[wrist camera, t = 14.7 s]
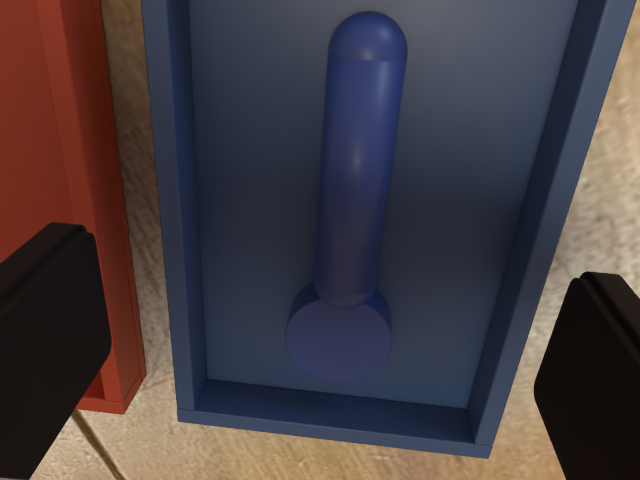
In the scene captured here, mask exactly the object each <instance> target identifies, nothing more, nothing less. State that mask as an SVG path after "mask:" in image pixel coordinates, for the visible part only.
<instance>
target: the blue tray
mask: <svg viewBox="0 0 640 480" xmlns="http://www.w3.org/2000/svg"><path fill="white" fill-rule="evenodd" d="M635 3H636V0H141V10H142V21H143V32H144V43H145V54H146V65H147V77H148V88H149V99H150V110H151V121H152V132H153V144H154V155H155V166H156V177H157V188H158V199H159V211H160V222H161V233H162V244H163V255H164V266H165V277H166V289H167V300H168V311H169V322H170V333H171V344H172V356H173V367H174V378H175V389H176V400H177V415H178V421H179V422H185V423H194V424H202V425H210V426H219V427H227V428H235V429H244V430H252V431H260V432H269V433H277V434H285V435H294V436H302V437H310V438H318V439H327V440H335V441H343V442H352V443H360V444H368V445H377V446H385V447H393V448H402V449H410V450H418V451H427V452H435V453H443V454H451V455H460V456H468V457H476V458H485V459H488V458H489V456H490V453H491V450H492V445H493V443H494V440H495V437H496V434H497V430H498V427H499V424H500V421H501V418H502V415H503V412H504V409H505V406H506V403H507V399H508V396H509V393H510V390H511V387H512V384H513V381H514V378H515V375H516V372H517V369H518V365H519V362H520V359H521V356H522V353H523V350H524V347H525V344H526V341H527V338H528V334H529V331H530V328H531V325H532V322H533V319H534V316H535V313H536V310H537V307H538V304H539V300H540V297H541V294H542V291H543V288H544V285H545V282H546V279H547V276H548V273H549V269H550V266H551V263H552V260H553V257H554V254H555V251H556V248H557V245H558V242H559V239H560V235H561V232H562V229H563V226H564V223H565V220H566V217H567V214H568V211H569V208H570V204H571V201H572V198H573V195H574V192H575V189H576V186H577V183H578V180H579V177H580V174H581V170H582V167H583V164H584V161H585V158H586V155H587V152H588V149H589V146H590V143H591V139H592V136H593V133H594V130H595V127H596V124H597V121H598V118H599V115H600V112H601V108H602V105H603V102H604V99H605V96H606V93H607V90H608V87H609V84H610V81H611V78H612V74H613V71H614V68H615V65H616V62H617V59H618V56H619V53H620V50H621V47H622V43H623V40H624V37H625V34H626V31H627V28H628V25H629V22H630V19H631V16H632V13H633V9H634V6H635ZM363 11H374V12H380V13H382V14H385V15H387V16H388V17H390V18H391V19H393V20H394V21H395V22H396V23H397V24H398V25H399V26H400V28H401V30H402V31H403V33H404V36H405V39H406V42H407V48H408V53H407V64H406V71H405V78H404V85H403V93H402V100H401V107H400V114H399V122H398V129H397V136H396V143H395V151H394V158H393V165H392V172H391V180H390V187H389V194H388V201H387V209H386V216H385V223H384V230H383V238H382V245H381V252H380V259H379V267H378V274H377V281H376V286H375V289H376V290H377V291H378V292H379V293H380V294H381V295H382V296H383V298H384V299H385V301H386V302H387V304H388V307H389V309H390V313H391V325H392V349H391V353H390V355H389V358H388V359H387V361H386V363H385V364H384V365H383V366H382V367H381V368H380V369H379V370H378V371H377V372H376V373H374V374H373V375H371V376H369V377H367V378H365V379H362V380H359V381H355V382H348V383H335V382H328V381H324V380H320V379H318V378H315V377H313V376H311V375H309V374H308V373H306V372H304V371H303V370H302V369H301V368H299V367H298V366H297V365H296V364H295V362H294V361H293V360H292V358H291V357H290V355H289V353H288V351H287V348H286V344H285V330H286V326H287V322H288V318H289V314H290V309H291V306H292V303H293V301H294V299H295V297H296V296H297V294H298V293H299V292H300V291H301V290H302V289H303V288H304V287H306V286H307V285H309V284H310V283H312V282H313V266H314V252H315V237H316V222H317V208H318V193H319V179H320V164H321V150H322V135H323V120H324V106H325V91H326V77H327V62H328V50H329V43H330V40H331V38H332V35H333V33H334V32H335V30H336V28H337V27H338V26H339V25H340V24H341V23H342V22H343V21H344V20H345V19H347V18H348V17H349V16H352V15H354V14H356V13H359V12H363Z"/></svg>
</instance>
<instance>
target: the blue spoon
mask: <svg viewBox="0 0 640 480" xmlns="http://www.w3.org/2000/svg"><path fill="white" fill-rule="evenodd" d="M407 53H408V48H407V42H406V39H405V36H404V33H403V31H402V30H401V28H400V26H399V25H398V24H397V23H396V22H395V21H394V20H393V19H391V18H390V17H388V16H387V15H385V14H382V13H380V12H374V11H363V12H359V13H356V14H354V15H352V16H349V17H348V18H347V19H345V20H344V21H343V22H342V23H341V24H340V25H339V26H338V27H337V28H336V30H335V32H334V33H333V35H332V38H331V40H330V43H329V50H328V62H327V77H326V91H325V106H324V120H323V135H322V150H321V164H320V179H319V193H318V208H317V222H316V237H315V252H314V266H313V282H312V283H310V284H309V285H307V286H306V287H304V288H303V289H302V290H301V291H300V292H299V293H298V294H297V296H296V297H295V299H294V301H293V303H292V306H291V309H290V314H289V318H288V322H287V326H286V330H285V344H286V348H287V351H288V353H289V355H290V357H291V358H292V360H293V361H294V362H295V364H296V365H297V366H298V367H299V368H301V369H302V370H303V371H304V372H306V373H308V374H309V375H311V376H313V377H315V378H318V379H320V380H324V381H328V382H335V383H348V382H355V381H359V380H362V379H365V378H367V377H369V376H371V375H373V374H374V373H376V372H377V371H378V370H379V369H380V368H381V367H382V366H383V365H384V364H385V363H386V361H387V359H388V358H389V355H390V353H391V349H392V325H391V313H390V309H389V307H388V304H387V302H386V301H385V299H384V298H383V296H382V295H381V294H380V293H379V292H378V291H377V290H376V289H375V286H376V281H377V274H378V267H379V259H380V252H381V245H382V238H383V230H384V223H385V216H386V209H387V201H388V194H389V187H390V180H391V172H392V165H393V158H394V151H395V143H396V136H397V129H398V122H399V114H400V107H401V100H402V93H403V85H404V78H405V71H406V64H407Z"/></svg>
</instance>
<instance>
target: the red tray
mask: <svg viewBox="0 0 640 480" xmlns="http://www.w3.org/2000/svg"><path fill="white" fill-rule="evenodd" d="M51 222H59V223H70V224H81V225H83V226H84V227H85V228H86V230H87V232H89V233H92V234H93V235H94V237H95V240H96V245H97V251H98V257H99V263H100V269H101V276H102V282H103V288H104V294H105V300H106V306H107V312H108V318H109V324H110V331H111V337H112V347H111V351H110V354H109V356H108V358H107V360H106V361H105V363H104V364H103V366H102V368H101V369H100V371H99V372H98V374H97V375H96V377H95V378H94V380H93V382H92V383H91V385H90V386H89V388H88V389H87V391H86V392H85V394H84V395H83V397H82V399H81V400H80V402H79V403H78V405H77V406H76V408H75V409H80V410H88V411H97V412H105V413H113V414H122V415H123V414H125V412H126V410H127V409H128V407H129V405H130V403H131V401H132V400H133V398H134V396H135V394H136V393H137V391H138V389H139V387H140V385H141V383H142V382H143V381H144V379H145V377H146V371H145V363H144V355H143V347H142V339H141V331H140V323H139V315H138V307H137V299H136V290H135V282H134V274H133V266H132V258H131V250H130V242H129V234H128V226H127V218H126V210H125V202H124V193H123V185H122V177H121V169H120V161H119V153H118V145H117V137H116V129H115V121H114V113H113V105H112V97H111V88H110V80H109V72H108V64H107V56H106V48H105V40H104V32H103V24H102V16H101V8H100V0H0V263H1V262H3V261H4V260H5V259H6V258H8V257H9V256H10V255H11V254H12V253H14V252H15V251H16V250H17V249H18V248H20V247H21V246H22V245H23V244H24V243H26V242H27V241H28V240H29V239H30V238H32V237H33V236H34V235H35V234H37V233H38V232H39V231H40V230H41V229H43V228H44V227H45V226H46V225H47V224H49V223H51Z"/></svg>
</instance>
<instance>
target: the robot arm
mask: <svg viewBox="0 0 640 480" xmlns="http://www.w3.org/2000/svg"><path fill="white" fill-rule="evenodd" d="M111 347H112V337H111V331H110V324H109V318H108V312H107V306H106V300H105V294H104V288H103V282H102V276H101V269H100V263H99V257H98V251H97V245H96V240H95V237H94V235H93V234H92V233H89V232H87V230H86V228H85V227H84V226H83V225H81V224H70V223H59V222H51V223H49V224H47V225H46V226H45V227H44V228H43V229H41V230H40V231H39V232H38V233H37V234H35V235H34V236H33V237H32V238H30V239H29V240H28V241H27V242H26V243H24V244H23V245H22V246H21V247H20V248H18V249H17V250H16V251H15V252H14V253H12V254H11V255H10V256H9V257H8V258H6V259H5V260H4V261H3V262H1V263H0V480H29V479H30V477H31V476H32V474H33V473H34V471H35V470H36V468H37V467H38V465H39V463H40V462H41V460H42V459H43V457H44V456H45V454H46V453H47V451H48V450H49V448H50V446H51V445H52V443H53V442H54V440H55V439H56V437H57V436H58V434H59V433H60V431H61V429H62V428H63V426H64V425H65V423H66V422H67V420H68V419H69V417H70V416H71V414H72V412H73V411H74V409H75V408H76V406H77V405H78V403H79V402H80V400H81V399H82V397H83V395H84V394H85V392H86V391H87V389H88V388H89V386H90V385H91V383H92V382H93V380H94V378H95V377H96V375H97V374H98V372H99V371H100V369H101V368H102V366H103V364H104V363H105V361H106V360H107V358H108V356H109V354H110V351H111ZM534 398H535V402H536V404H537V407H538V409H539V412H540V414H541V417H542V419H543V422H544V424H545V427H546V430H547V432H548V435H549V437H550V440H551V442H552V445H553V447H554V450H555V452H556V455H557V457H558V460H559V463H560V465H561V468H562V470H563V473H564V475H565V478H566V480H640V299H639V297H638V296H637V295H636V294H635V293H634V291H633V290H632V289H631V288H630V287H629V285H628V284H627V283H626V282H625V280H624V279H623V278H622V277H621V276H620V275H617V274H608V273H598V272H585V273H583V274H582V275H581V276H580V278H574V279H573V280H572V281H571V282H570V284H569V287H568V289H567V292H566V295H565V298H564V301H563V304H562V306H561V309H560V312H559V315H558V318H557V320H556V323H555V326H554V329H553V332H552V335H551V337H550V340H549V343H548V346H547V349H546V351H545V354H544V357H543V360H542V363H541V366H540V368H539V371H538V374H537V377H536V380H535V383H534Z"/></svg>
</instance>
